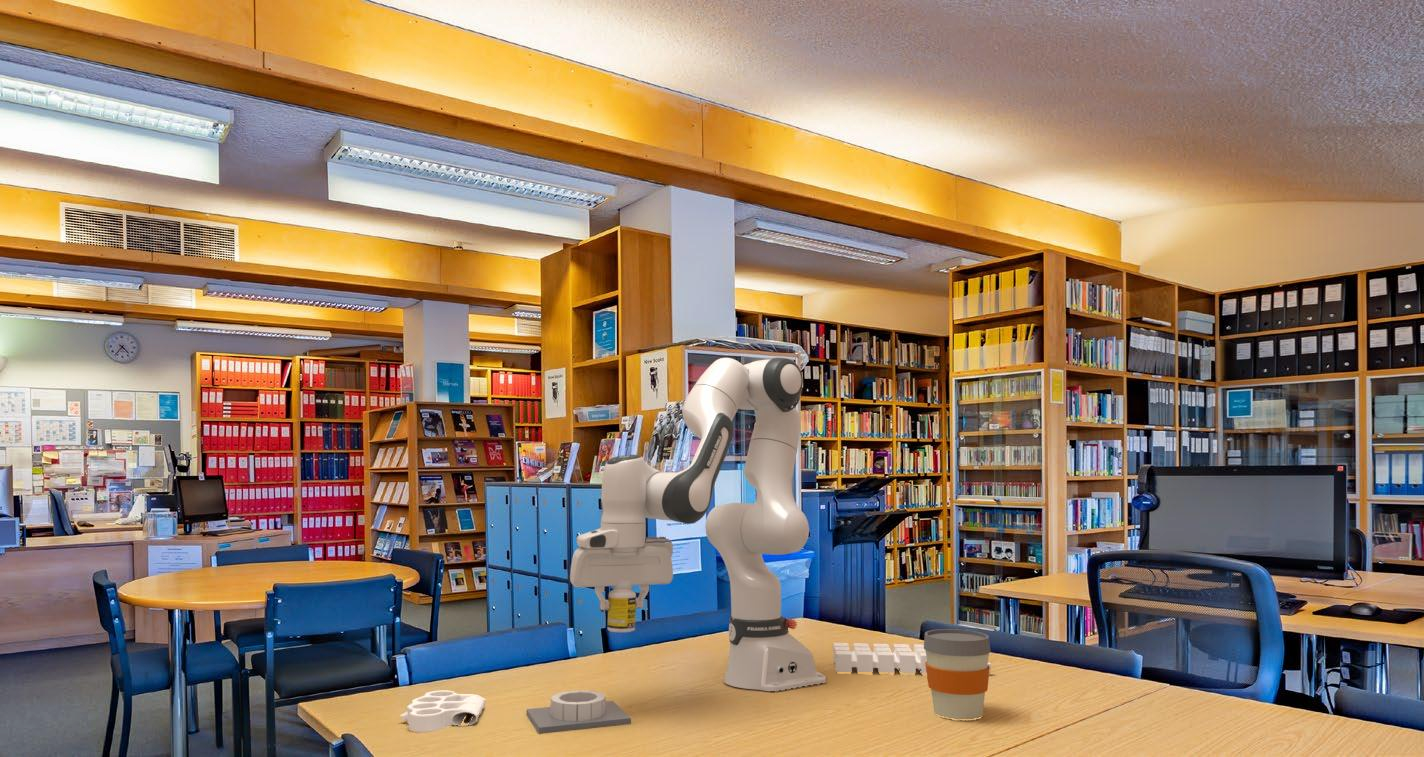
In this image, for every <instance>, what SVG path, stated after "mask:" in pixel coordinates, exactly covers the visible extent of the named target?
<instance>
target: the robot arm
mask: <svg viewBox="0 0 1424 757" xmlns="http://www.w3.org/2000/svg"><path fill="white" fill-rule="evenodd" d="M803 384H804V381H803V373H802V371H801V369H800V367H799V366H798V364H797V363H796V362H795V361H794V360H792V359H789V358H787V357H786V358H785V357H773V358H770V359H767V358H766V359H761V360H755V361H752V362H749V363H746V364H742V363H741V362H739V361H738V360H736V359H734V358H730V357H721V358H718V359H716V360H715V361H713V362H712V363H711V364H710V365H709V366H708V367H707V368H706V370H704V372H703V373H702V374H701V375H700V377H699V378H698V379H697V381H696V382H695V384H694V385H693V387H692V388H691V390H690V392H689V393H688V395H686V396H687V397H686V398H685V400H684V402H683V405H682V409H681V412H682V418H683V421H684V423H685V426H686V427H687V428H688V429H689V430H690V432H692V434H693V435H694V436H696V437H697V438H699V439H700V442H699V445H698V446H697V449H696V451H695V454H694V456H693V458H692V461H691V462H690V465H689V466H688V467H686V468H684V469H683V470H681V471H678V472H677V471H676V472H674V471H673V472H672V471H671V472H667V471H666V472H664V471H660V470H658V469H656V468H654V467H653V466H651V465H649V464H648V463H647V461H645V459H644V458H643V456H642V455H639V454H627V455H625V454H624V455H619V456H614V457H611V458H610V459H609V460H606V463H605V465H604V468H603V473H602V479H601V493H600V494H601V496H600V497H601V498H600V499H601V505H602V516H601V518H600V528H597V529H594V530H592V531H591V530H590V531H588V532H585V533H582V534H579V535H578V536H577V538H576V544H577V546H578V548H576V549H575V551H574V552H573V555H572V558H571V564H570V574H569V580H570V583H571V585H573V587H574V588H594V593H595V594H596V596H597V598H598V600H599V610H601V611H608V610H609V609H610V607H609V605H610V601H609V600H608V599H605V597H604V595H603V593H605V587H613V586H618V585H620V583H621V581H625V580H629V581H630V584H631V585H633V586H638V588H639V590H640V592H639V594H638V596H637V597H636V609H643V608H644V600H645V599H646V596H647V595H648V592H650V585H669V584H670V583H671V582H672V580H673V579H674V571H673V570H674V568H673V560H672V557H673V553H674V545H673V542H672V540H670V539H669V538H667V537H666V536H646V529H647V528H646V527H647V526H646V523H647V522H646V519H653V520H659V521H660V520H661V521H673V522H677V523H682V524H687V525H690V524H695V523H698V521H700V520H701V519H702V518H703V517H704V516H705V515H706V513H707V512H708V510H709V507H710V506H711V502H712V497H713V491H714V487H715V484H716V482H717V479H718V476H719V473H720V471H721V468H722V466H723V464H724V461H725V459H726V456H727V454H728V451H729V449H730V446H731V443H732V440H733V436H734V432H735V431H734V430H735V428H734V423H733V419H734V417H735V415H736V413H737V412H745V411H754V415H755V424H754V427H753V430H752V434H751V437H750V440H749V446H748V450H747V455H746V459H745V464H744V468H743V473H744V475H743V476H744V477H745V479H746V481H747V482H748V483H749V484H750V485H751V486H752V487H753V488H755V491H756V496H755V497H756V498H755V502H754V503H747V502H731V503H725V504H721V505H717V506H713V508H712V509H711V510H710V511H709V513H708V515H707V517H706V521H705V524H704V525H705V527H704V528H705V534H706V537H707V539H708V542H710V544H711V545H712V546H713V547H714V548H715V549H716V550H717V552H718V553H719V554H720V556H721V559H722V560H723V562H724V565H725V568H726V571H727V573H728V578H729V583H730V584H729V585H730V603H731V604H730V606H731V607H730V609H731V610H730V612H731V613H730V614H731V615H730V616H729V622H728V624H729V625H728V638H729V644H730V645H729V654H728V660H727V661H728V662H727V667H726V672H725V675H724V678H723V682H724V683H725V684H726V685H728V686H731V687H734V688H739V689H747V690H759V691H764V692H765V691H766V692H770V691H775V692H780V691H779V690H781V691H786V690H785V689H787V690H792V689H791V688H793V689H797V688H796V687H799V688H803V687H802V686H805V687H808V686H807V685H811V686H814V685H813V684H817V685H821V684H820V683H823V684H826V683H827V677H826V676H825V675H824V674H823V673H822V672H820V671H818V670H817V669H816V663H815V658H814V654H813V653H812V651H811V650H810V649H809V648H808V647H807V646H805V645H804V644H803V643H802V642H800V641H799V640H798V639H797V638H795V636H793V635H792V634H790V633H789V629H790V630H795V629H796V628H797V627H798V621H796V620H795V619H792V618H788V619H787V617H784V616H783V615H782V585H781V581H780V579H779V578H778V576H777V575H776V573H774V572H772V571H771V570H770V569H769V568H768V567H767V565H766V563H765V561H764V558H763V554H764V555H773V556H775V555H776V556H780V555H788V554H789V555H790V554H793V553H794V554H795V553H798V552H800V551H801V550H802V549H803V548H804V546H805V545H806V543H807V542H808V539H809V536H810V535H809V534H810V526H809V522H808V519H807V516H806V515H805V513H804V512H803V511H802V510H801V508H800V507H799V506H798V504H797V502H796V501H795V497H794V493H793V476H794V468H795V463H796V459H797V453H798V448H799V443H800V442H799V440H800V433H801V432H800V431H801V430H800V429H801V428H800V427H801V425H800V423H801V422H800V421H801V416H800V413H799V410H797V408H796V407H797V405H798V404H799V401H800V398H801V394H802V390H803ZM825 682H826V683H825Z"/></svg>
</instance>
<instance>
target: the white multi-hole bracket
mask: <svg viewBox="0 0 1424 757" xmlns="http://www.w3.org/2000/svg"><path fill="white" fill-rule="evenodd" d="M485 706H486V698H484V697H482V696H481V695H479V694H473V693H456V692H455V691H453V690H447V689H446V690H445V689H444V690H443V689H442V690H433V691H427V692H425V693H424V695H421V696H419V697H416V698H414V699H412V700H411V703H410V704H408V705H407V706H406V707H405V709H406V711H405V712H404V713H402V714H400V715H398V716H397V717H398V718H401V719H403V720H405V721H406V723H408V724H409V725H408V724H407V725H408V730H409V731H410V730H411V731H410V732H412V731H415V732H414V733H430V732H429V731H432V732H436V730H437V731H440V730H442V729H441V728H443V727H444V728H447V726H449V727H452V726H451V725H458V726H457V727H463V726H462V725H461V723H462V721H463V719H464V717H465V716H466V715H467V713H468V714H472V716H473V714H474V716H473V718H472V720H471V721H470V722H469V724H468V725H469V726H472V725H473V724H475V723H477V722H478V720H479V717H480V715H482V710H483V709H484V707H485ZM467 716H468V715H467ZM468 725H467V726H466V727H469V726H468ZM444 728H443V729H444ZM439 729H440V730H439Z"/></svg>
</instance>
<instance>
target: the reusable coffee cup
mask: <svg viewBox="0 0 1424 757" xmlns="http://www.w3.org/2000/svg"><path fill="white" fill-rule="evenodd" d="M923 641H924V642H923V644H924V649H925V650H926V657H927V662H926V663H925V665H926V672H927V676H926V677H927V685H928V688H929V689H930V692H931V698H932V699H931V700H932V705H933V712H935V713H936V714H938V715H940V716H944V717H948V718H954V719H974V718H979V717H981V716H982V715H983V716H984V705H985V695H986V692H988V688H989V687H988V686H989V679H990V678H989V677H990V671H991V670H990V667H989V665H988V663H989V656H990V653H991V652H992V650H991V646H990V645H991V643H990V636H989V635H988V634H986V633H983V632H981V631H975V630H969V629H968V630H967V629H956V628H954V629H953V628H944V629H943V628H942V629H931V630H928V631H925V632H924V639H923ZM935 713H934V714H935Z"/></svg>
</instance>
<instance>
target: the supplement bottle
mask: <svg viewBox="0 0 1424 757" xmlns="http://www.w3.org/2000/svg"><path fill="white" fill-rule="evenodd" d="M612 587H613V589H612V590H610V591H609V592H608V597H607V598H608V599H607V600H609V601H610V605H609V607H610V609H609V610H607V630H608V631H609V632H610V633H611V632H612V633H631V632H633V631H635V630H636V615H637V614H636V613H637V612H636V611H637V610H636V598H637V593H636V591H634V590H633V587H634V585H631V584H630V581H629V580H625V581H621V583H620V585H618V586H612Z"/></svg>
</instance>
